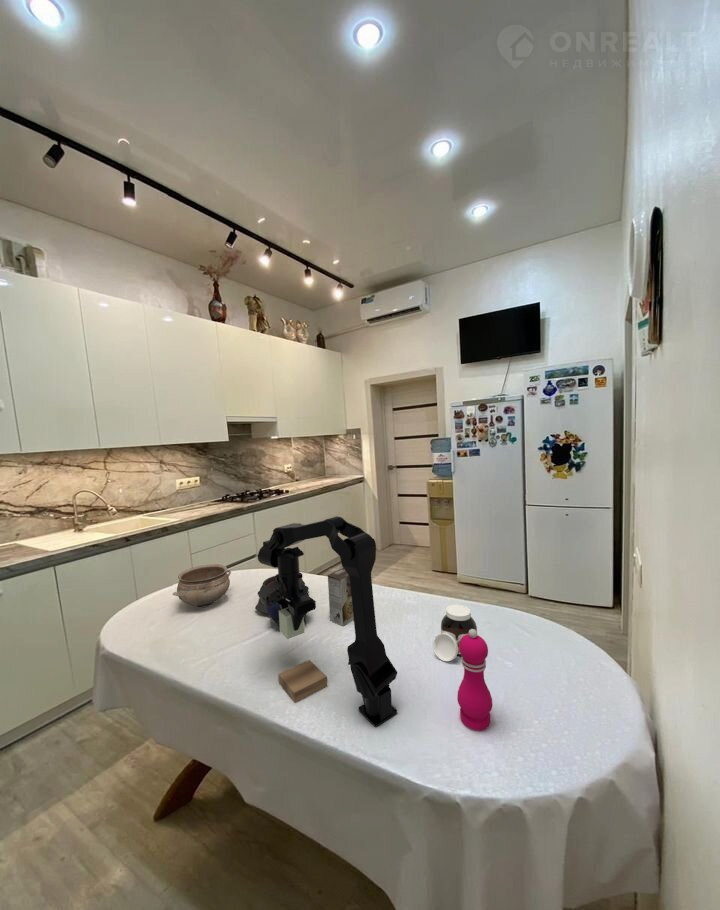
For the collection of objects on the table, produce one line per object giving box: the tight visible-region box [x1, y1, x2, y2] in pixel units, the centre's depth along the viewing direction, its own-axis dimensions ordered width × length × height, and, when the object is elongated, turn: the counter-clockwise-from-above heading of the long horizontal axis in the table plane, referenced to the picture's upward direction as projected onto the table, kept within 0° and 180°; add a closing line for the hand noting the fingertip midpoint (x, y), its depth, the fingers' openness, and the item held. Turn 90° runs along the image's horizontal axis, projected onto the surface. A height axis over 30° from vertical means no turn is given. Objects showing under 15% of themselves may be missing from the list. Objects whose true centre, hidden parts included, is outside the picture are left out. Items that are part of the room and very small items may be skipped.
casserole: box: [254, 575, 310, 614], centre depth 138 cm, size 25×19×8 cm
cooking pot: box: [172, 563, 232, 608], centre depth 140 cm, size 25×19×12 cm
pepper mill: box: [456, 629, 493, 732], centre depth 77 cm, size 7×7×20 cm
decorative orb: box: [267, 583, 310, 626], centre depth 122 cm, size 14×15×15 cm
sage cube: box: [279, 608, 305, 640], centre depth 99 cm, size 5×5×6 cm
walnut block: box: [278, 659, 328, 704], centre depth 91 cm, size 9×9×3 cm
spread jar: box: [432, 604, 478, 662], centre depth 101 cm, size 12×11×12 cm
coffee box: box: [327, 567, 354, 627], centre depth 123 cm, size 9×6×16 cm
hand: (291, 626), depth 99 cm, fingers closed on sage cube, 5 cm apart
